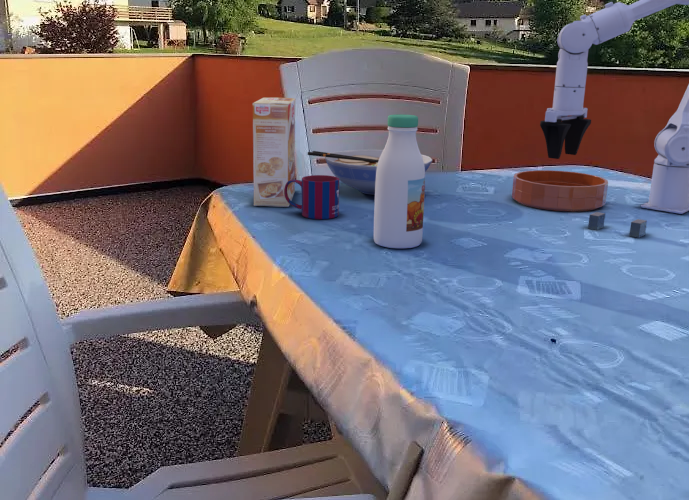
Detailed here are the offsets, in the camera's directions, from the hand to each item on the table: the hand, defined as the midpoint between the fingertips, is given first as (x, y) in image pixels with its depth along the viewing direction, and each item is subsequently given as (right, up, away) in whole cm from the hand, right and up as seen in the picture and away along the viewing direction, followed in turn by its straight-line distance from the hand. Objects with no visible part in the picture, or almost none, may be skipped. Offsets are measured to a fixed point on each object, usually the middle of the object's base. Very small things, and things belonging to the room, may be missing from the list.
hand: (562, 156), depth 142 cm
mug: (-50, -12, -12) cm, 53 cm away
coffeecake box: (-57, -9, +1) cm, 58 cm away
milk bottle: (-35, -18, -29) cm, 49 cm away
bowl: (0, -9, +3) cm, 9 cm away
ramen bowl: (-37, -6, +9) cm, 38 cm away
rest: (+3, -16, -20) cm, 25 cm away
